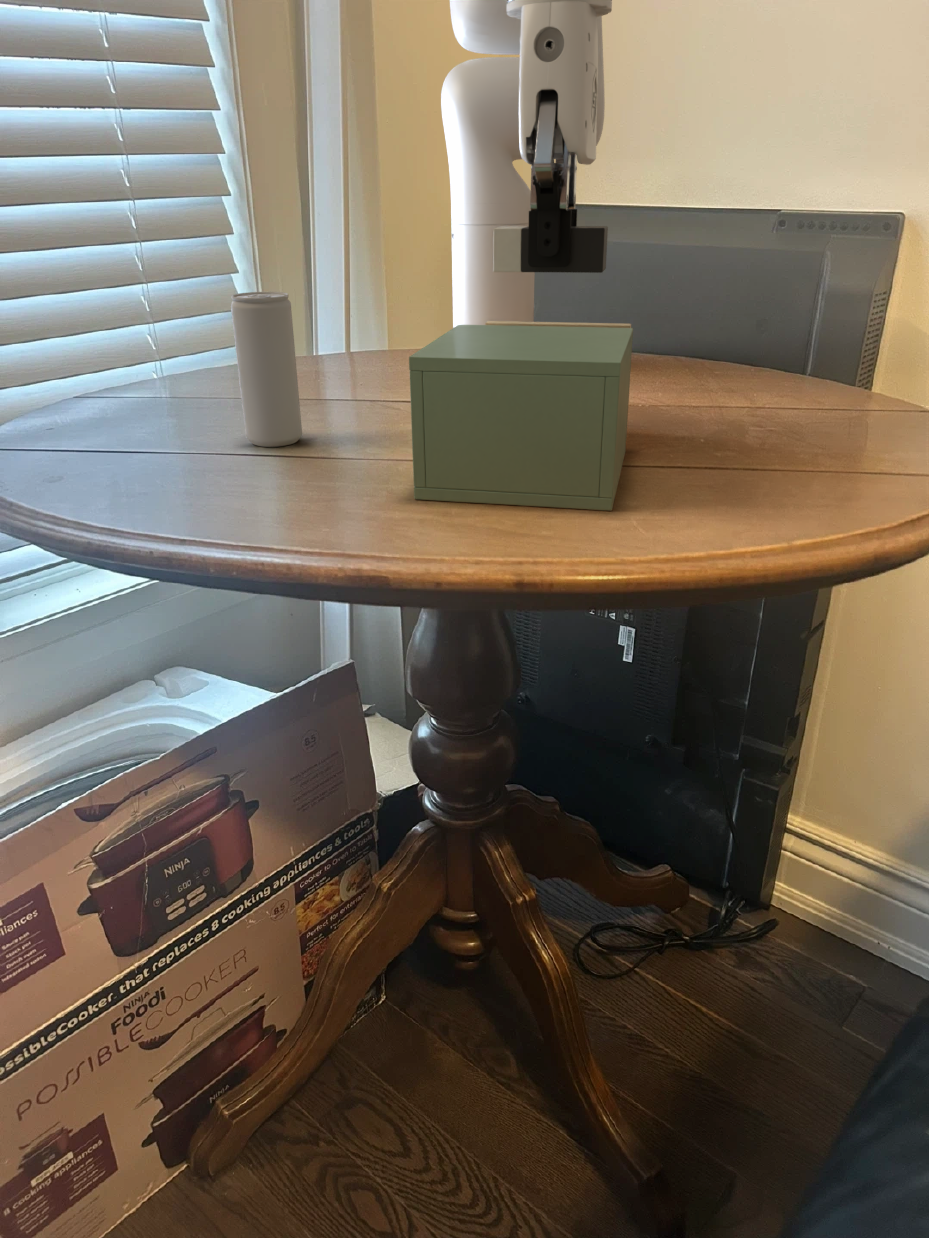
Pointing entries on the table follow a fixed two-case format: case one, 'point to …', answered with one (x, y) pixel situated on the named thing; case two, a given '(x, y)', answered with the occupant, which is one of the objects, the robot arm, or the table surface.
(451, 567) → the table surface
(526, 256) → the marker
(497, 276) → the robot arm
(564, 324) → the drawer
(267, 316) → the beverage can
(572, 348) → the cabinet
